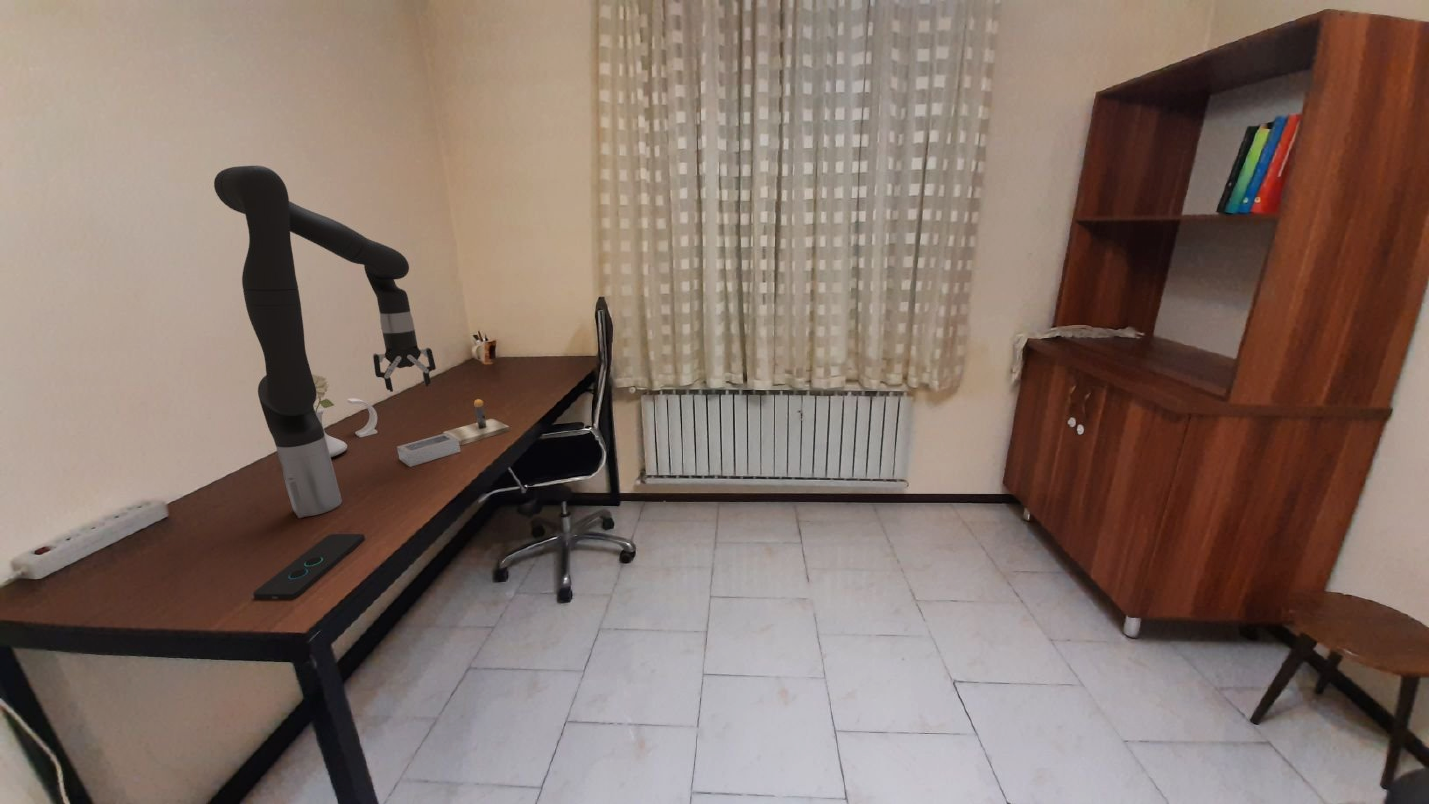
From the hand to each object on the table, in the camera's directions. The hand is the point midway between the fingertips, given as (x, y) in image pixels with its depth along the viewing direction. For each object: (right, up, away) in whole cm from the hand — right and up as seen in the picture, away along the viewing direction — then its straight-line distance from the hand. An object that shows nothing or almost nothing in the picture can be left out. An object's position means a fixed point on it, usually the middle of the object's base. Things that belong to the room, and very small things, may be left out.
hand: (409, 388), depth 150 cm
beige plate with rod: (+7, -14, +26) cm, 30 cm away
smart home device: (+5, -36, -42) cm, 56 cm away
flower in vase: (-31, -20, +12) cm, 38 cm away
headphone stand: (-30, -14, +30) cm, 44 cm away
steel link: (+1, -19, +10) cm, 22 cm away
